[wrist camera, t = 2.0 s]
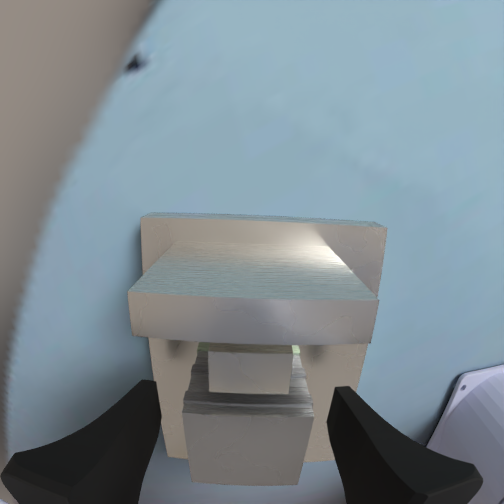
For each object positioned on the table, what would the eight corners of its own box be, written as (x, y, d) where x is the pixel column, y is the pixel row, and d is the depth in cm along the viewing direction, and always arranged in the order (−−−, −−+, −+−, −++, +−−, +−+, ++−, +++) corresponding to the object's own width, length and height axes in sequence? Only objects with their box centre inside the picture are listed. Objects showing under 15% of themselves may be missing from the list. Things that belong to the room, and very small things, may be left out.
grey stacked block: (287, 406, 15) (298, 485, 10) (204, 404, 14) (190, 482, 10) (296, 337, 14) (316, 415, 9) (201, 333, 13) (179, 411, 9)
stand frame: (330, 443, 17) (352, 531, 11) (172, 440, 17) (150, 529, 10) (374, 222, 14) (464, 266, 7) (151, 212, 14) (70, 252, 7)
